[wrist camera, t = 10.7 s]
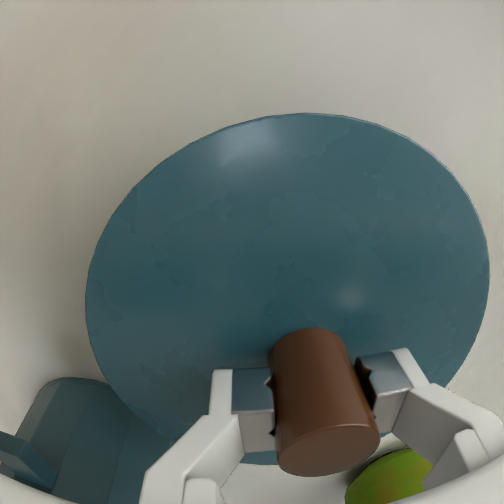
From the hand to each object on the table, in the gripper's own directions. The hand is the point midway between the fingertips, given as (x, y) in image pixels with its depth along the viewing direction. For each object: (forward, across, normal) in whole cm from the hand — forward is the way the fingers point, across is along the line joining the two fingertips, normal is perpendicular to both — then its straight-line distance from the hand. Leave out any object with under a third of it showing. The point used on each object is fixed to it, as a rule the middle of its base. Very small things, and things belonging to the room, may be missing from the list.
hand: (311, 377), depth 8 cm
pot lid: (+1, 0, 0) cm, 1 cm away
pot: (+6, +12, +12) cm, 18 cm away
